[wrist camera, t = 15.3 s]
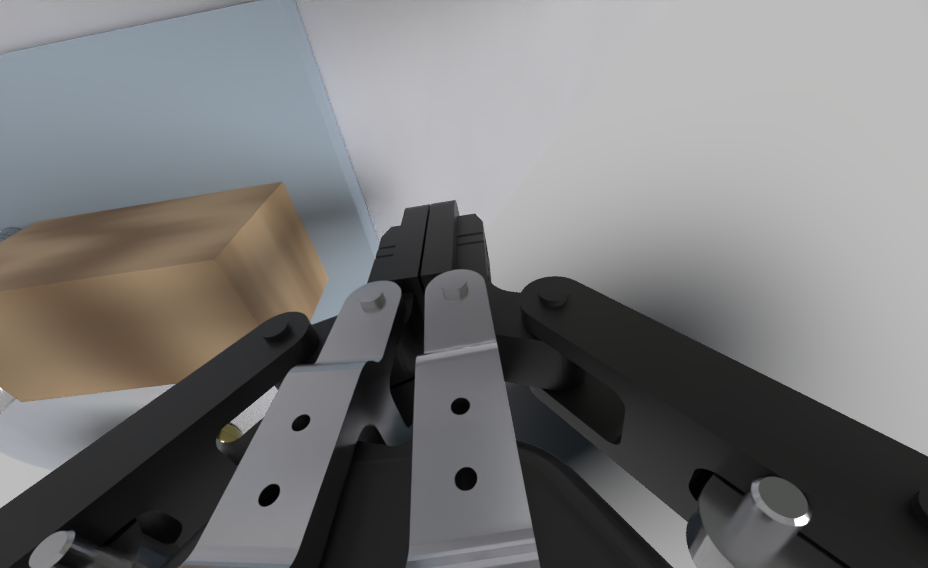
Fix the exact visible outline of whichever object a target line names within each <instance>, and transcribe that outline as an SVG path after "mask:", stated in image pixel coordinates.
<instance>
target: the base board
mask: <svg viewBox="0 0 928 568" xmlns="http://www.w3.org/2000/svg"><path fill="white" fill-rule="evenodd" d="M277 182H283V183H284V185H285V187H286V190H287V192H288V194H289V196H290V198H291V200H292V202H293V204H294V206H295V209H296V211H297V213H298V215H299V217H300V219H301V221H302V223H303V225H304V227H305V230H306V232H307V234H308V236H309V238H310V240H311V242H312V244H313V246H314V249H315V251H316V253H317V255H318V257H319V259H320V261H321V263H322V265H323V268H324V270H325V272H326V274H327V276H328V278H329V279H328V282H327V284H326V286H325V289H324V291H323V293H322V296H321V298H320V300H319V303H318V305H317V307H316V310H315V312H314V314H313V317H312V319H311V321H310V322H311V324H315V323H318V322H321V321H323V320H326V319H329V318H332V317H334V316H337V315H338V314H339V312H340V310H341V308H342V306H343V304H344V302H345V300H346V298H347V297H348V296H349V295H350V294H351V293H352V292H353V291H354V290H356V289H357V288H359V287H361V286H363V285H365V284H367V282H368V279H369V276H370V272H371V269H372V266H373V263H374V260H375V259H376V253H377V250H379V249H378V247H379V241H378V238H377V236H376V233H375V230H374V227H373V224H372V221H371V218H370V215H369V212H368V210H367V207H366V204H365V201H364V198H363V195H362V192H361V189H360V187H359V184H358V181H357V178H356V175H355V172H354V169H353V166H352V164H351V161H350V158H349V155H348V152H347V149H346V146H345V143H344V141H343V138H342V135H341V132H340V129H339V126H338V123H337V120H336V117H335V115H334V112H333V109H332V106H331V103H330V100H329V97H328V94H327V92H326V89H325V86H324V83H323V80H322V77H321V74H320V71H319V69H318V66H317V63H316V60H315V57H314V54H313V51H312V48H311V46H310V43H309V40H308V37H307V34H306V31H305V28H304V25H303V22H302V20H301V17H300V14H299V11H298V8H297V5H296V2H295V0H259V1H254V2H249V3H244V4H239V5H234V6H230V7H225V8H220V9H215V10H210V11H205V12H201V13H196V14H191V15H186V16H181V17H176V18H172V19H167V20H162V21H157V22H152V23H147V24H143V25H138V26H133V27H128V28H123V29H118V30H114V31H109V32H104V33H99V34H94V35H90V36H85V37H80V38H75V39H70V40H65V41H61V42H56V43H51V44H46V45H41V46H36V47H32V48H27V49H22V50H17V51H12V52H7V53H3V54H0V230H2V229H4V228H6V227H19V228H23V229H24V228H26V227H28V226H30V225H32V224H33V223H35V222H38V221H44V220H50V219H56V218H62V217H68V216H74V215H81V214H87V213H93V212H99V211H105V210H111V209H117V208H123V207H130V206H136V205H142V204H148V203H154V202H160V201H166V200H173V199H179V198H185V197H191V196H197V195H203V194H209V193H215V192H222V191H228V190H234V189H240V188H246V187H252V186H258V185H264V184H271V183H277Z"/></svg>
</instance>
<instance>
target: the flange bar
mask: <svg viewBox="0 0 928 568" xmlns="http://www.w3.org/2000/svg"><path fill="white" fill-rule="evenodd" d="M328 279H329V278H328V276H327V274H326V272H325V270H324V268H323V265H322V263H321V261H320V259H319V257H318V255H317V253H316V251H315V249H314V246H313V244H312V242H311V240H310V238H309V236H308V234H307V232H306V230H305V227H304V225H303V223H302V221H301V219H300V217H299V215H298V213H297V211H296V209H295V206H294V204H293V202H292V200H291V198H290V196H289V194H288V192H287V190H286V187H285V185H284V183H283V182H277V183H271V184H264V185H258V186H252V187H246V188H240V189H234V190H228V191H222V192H215V193H209V194H203V195H197V196H191V197H185V198H179V199H173V200H166V201H160V202H154V203H148V204H142V205H136V206H130V207H123V208H117V209H111V210H105V211H99V212H93V213H87V214H81V215H74V216H68V217H62V218H56V219H50V220H44V221H38V222H35V223H33V224H32V225H30V226H28V227H26V228H24V229H23V230H21V231H19V232H17V233H16V234H14V235H12V236H10V237H9V238H7V239H5V240H3V241H2V242H0V388H1V389H3V390H4V391H6V392H7V393H9V394H10V395H12V396H13V397H15V398H16V399H18V400H19V401H21V402H26V401H34V400H42V399H51V398H59V397H68V396H76V395H84V394H93V393H101V392H110V391H118V390H126V389H135V388H143V387H152V386H160V385H168V384H177V383H178V382H180V381H181V380H183V379H184V378H185V377H187V376H188V375H190V374H191V373H193V372H194V371H195V370H197V369H198V368H200V367H201V366H202V365H204V364H205V363H207V362H208V361H210V360H211V359H212V358H214V357H215V356H217V355H218V354H219V353H221V352H222V351H224V350H225V349H227V348H228V347H229V346H231V345H232V344H234V343H235V342H236V341H238V340H239V339H241V338H242V337H243V336H245V335H246V334H248V333H249V332H251V331H252V330H253V329H255V328H256V327H258V326H259V325H260V324H262V323H263V322H265V321H266V320H268V319H270V318H272V317H274V316H276V315H279V314H282V313H286V312H301V313H303V314H305V315H306V316H307V317H308V319H309V321H311V319H312V317H313V314H314V312H315V310H316V307H317V305H318V303H319V300H320V298H321V296H322V293H323V291H324V289H325V286H326V284H327V282H328Z"/></svg>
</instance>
